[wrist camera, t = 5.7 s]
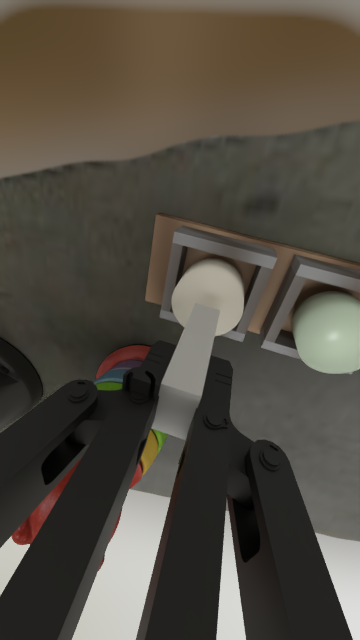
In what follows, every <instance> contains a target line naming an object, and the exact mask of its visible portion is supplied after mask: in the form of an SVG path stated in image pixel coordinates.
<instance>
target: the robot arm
mask: <svg viewBox="0 0 360 640" xmlns="http://www.w3.org/2000/svg"><path fill="white" fill-rule="evenodd" d="M219 314H220V310H217V309H214V308H210V307H207V306H203V305H200V304H196V303H195V305H194V307H193V309H192V312H191V314H190V316H189V319H188V321H187V324H186V326H185V328H184V331H183V333H182V335H181V338H180V340H179V342H178V345H177V346H176V345H173V344H170V343H167V342H163V341H158V342H157V343H155V344H153V345H152V347H151V348H150V350H149V352H148V354H147V355H146V357H145V359H144V361H143V362H142V364H141V366H140V367H134V368H131V369H129V370H127V371H126V372H125V373H124V374H123V383H122V389H119V390H98V389H97V386H96V385H95V384H94V383H93V382H90V381H88V380H75V381H71V382H69V383H67V384H65V385H64V386H63V387H61V388H60V389H59V390H57V391H56V392H55V393H53V394H52V395H51V396H49V397H48V398H47V399H45V400H44V401H43V402H41V403H40V404H39V405H37V406H36V407H35V408H33V407H34V406H35V404H36V403H37V402H38V401H39V400H40V398H41V396H42V386H41V382H40V379H39V377H38V375H37V373H36V371H35V370H34V368H33V367H32V366H31V364H30V363H29V362H28V361H27V360H26V359H25V357H24V356H23V355H22V354H20V353H19V352H18V351H17V350H16V349H15V348H13V347H12V346H11V345H9V344H8V343H6V342H5V341H3V340H1V339H0V429H2V428H3V427H5V426H7V425H8V424H10V423H11V422H13V421H14V420H16V419H17V418H19V417H21V416H23V415H24V416H23V417H21V418H20V419H19V420H17V421H16V422H15V423H13V424H12V425H11V426H9V427H8V428H7V429H6V430H4V431H3V432H2V433H0V548H1V547H2V545H3V544H4V543H5V542H6V541H7V540H8V539H9V538H10V537H11V535H12V534H13V533H14V532H15V531H16V530H17V529H18V528H19V527H20V525H21V524H22V523H23V522H24V521H25V520H26V519H27V518H28V517H29V515H30V514H31V513H32V512H33V511H34V510H35V509H36V508H37V507H38V505H39V504H40V503H41V502H42V501H43V500H44V499H45V498H46V497H47V495H48V494H49V493H50V492H51V491H52V490H53V489H54V488H55V487H56V485H57V484H58V483H59V482H60V481H61V480H62V479H63V478H64V477H65V476H66V474H67V473H68V472H69V471H70V470H71V469H72V468H73V467H74V466H75V464H76V463H77V462H78V461H79V460H80V459H81V458H82V459H81V460H80V462H79V464H78V465H77V467H76V469H75V470H74V472H73V474H72V476H71V477H70V479H69V481H68V482H67V484H66V486H65V487H64V489H63V491H62V493H61V494H60V496H59V498H58V499H57V501H56V503H55V504H54V506H53V508H52V509H51V511H50V513H49V515H48V516H47V518H46V520H45V521H44V523H43V525H42V526H41V528H40V530H39V532H38V533H37V535H36V537H35V538H34V540H33V542H32V543H31V545H30V547H29V548H28V550H27V552H26V554H25V555H24V557H23V559H22V560H21V562H20V564H19V565H18V567H17V569H16V570H15V572H14V574H13V576H12V577H11V579H10V581H9V582H8V584H7V586H6V587H5V589H4V591H3V593H2V594H1V596H0V640H72V637H73V635H74V632H75V629H76V627H77V624H78V622H79V619H80V616H81V613H82V611H83V608H84V606H85V603H86V600H87V598H88V595H89V592H90V590H91V587H92V584H93V582H94V579H95V577H96V574H97V572H98V569H99V566H100V564H101V561H102V559H103V556H104V553H105V551H106V548H107V545H108V543H109V540H110V538H111V535H112V532H113V530H114V527H115V524H116V522H117V519H118V517H119V514H120V511H121V509H122V506H123V503H124V501H125V498H126V496H127V493H128V490H129V488H130V485H131V482H132V480H133V477H134V475H135V472H136V469H137V467H138V464H139V461H140V459H141V456H142V454H143V451H144V448H145V446H146V443H147V440H148V435H149V432H150V429H151V427H152V429H155V430H158V431H161V432H163V433H166V434H169V435H172V436H175V437H178V438H180V439H183V440H186V442H185V446H184V449H183V452H182V454H181V457H180V460H179V463H178V464H179V467H178V471H177V475H176V479H175V483H174V487H173V491H172V495H171V499H170V504H169V508H168V512H167V516H166V520H165V524H164V528H163V532H162V536H161V540H160V544H159V548H158V552H157V556H156V560H155V565H154V569H153V574H152V577H151V581H150V585H149V589H148V593H147V597H146V601H145V605H144V609H143V613H142V617H141V621H140V626H139V629H138V634H137V638H136V640H216V634H217V620H218V607H219V592H220V579H221V566H222V552H223V538H224V524H225V511H226V498H227V500H228V507H229V514H230V522H231V530H232V537H233V545H234V552H235V559H236V567H237V574H238V582H239V589H240V597H241V604H242V611H243V619H244V626H245V634H246V640H353V639H352V636H351V633H350V630H349V628H348V625H347V622H346V619H345V616H344V614H343V611H342V608H341V605H340V602H339V600H338V597H337V594H336V591H335V589H334V585H333V583H332V580H331V577H330V575H329V571H328V569H327V566H326V563H325V560H324V558H323V555H322V552H321V549H320V546H319V543H318V541H317V538H316V535H315V532H314V529H313V527H312V524H311V521H310V518H309V515H308V513H307V510H306V507H305V504H304V501H303V499H302V496H301V493H300V490H299V487H298V485H297V482H296V479H295V476H294V473H293V471H292V468H291V465H290V462H289V460H288V458H287V456H286V454H285V453H284V452H283V451H282V449H281V448H280V447H279V446H277V445H276V444H274V443H273V442H271V441H267V440H257V441H256V442H253V441H251V440H250V439H249V438H247V437H246V436H244V435H243V434H241V433H240V432H239V431H238V430H237V429H236V428H235V427H234V425H233V424H232V422H231V419H230V415H229V409H230V398H231V385H232V374H233V369H232V366H231V364H230V362H229V361H227V360H224V359H220V358H217V357H214V356H211V351H212V346H213V341H214V337H215V332H216V328H217V323H218V318H219ZM32 408H33V409H32ZM31 409H32V410H31ZM30 410H31V411H30ZM26 413H27V414H26Z"/></svg>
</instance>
